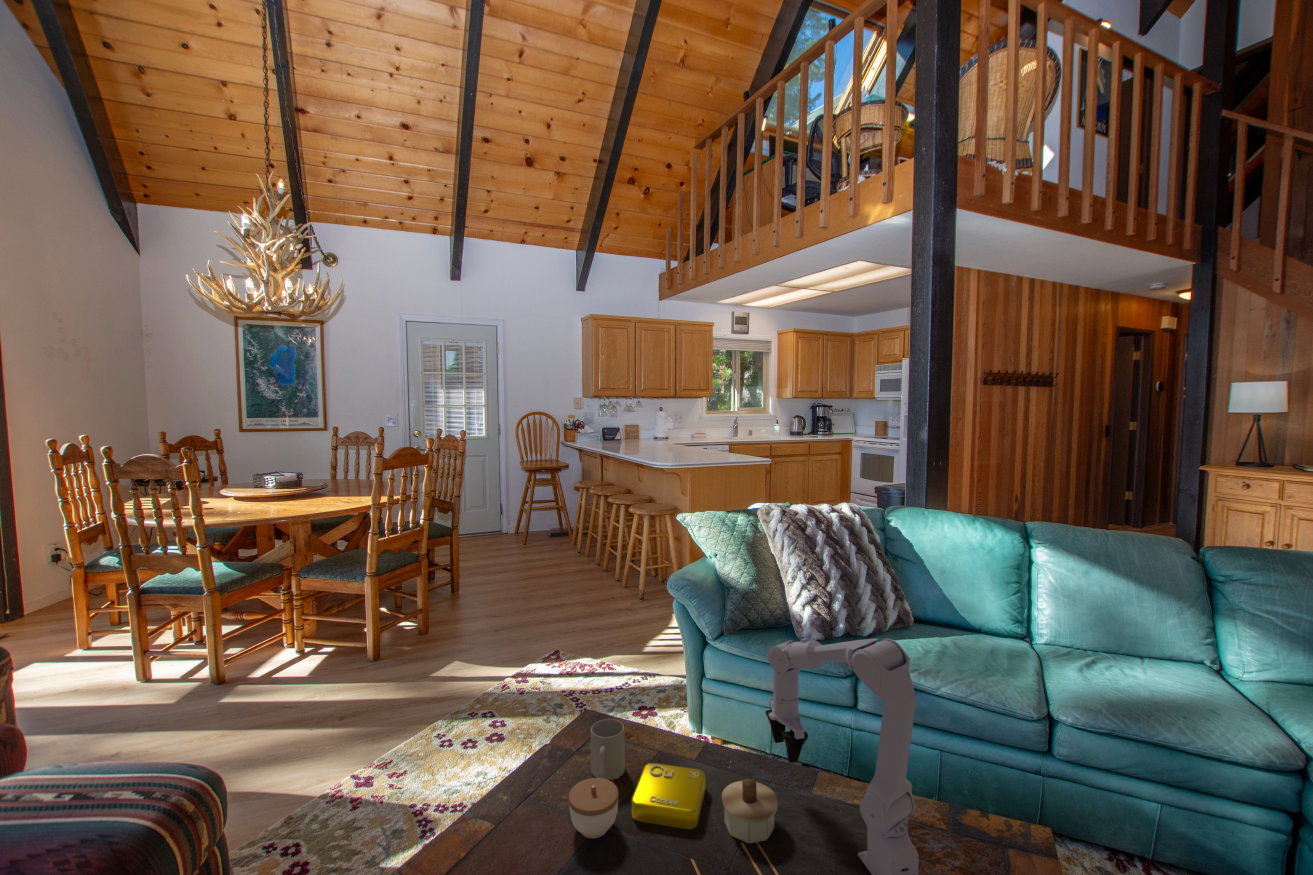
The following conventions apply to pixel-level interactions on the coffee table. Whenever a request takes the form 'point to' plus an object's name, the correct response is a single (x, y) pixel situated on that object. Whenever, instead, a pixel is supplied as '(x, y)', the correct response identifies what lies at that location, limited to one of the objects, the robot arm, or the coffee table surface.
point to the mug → (607, 749)
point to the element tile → (669, 796)
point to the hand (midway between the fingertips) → (785, 751)
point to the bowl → (748, 829)
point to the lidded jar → (593, 806)
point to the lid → (749, 801)
